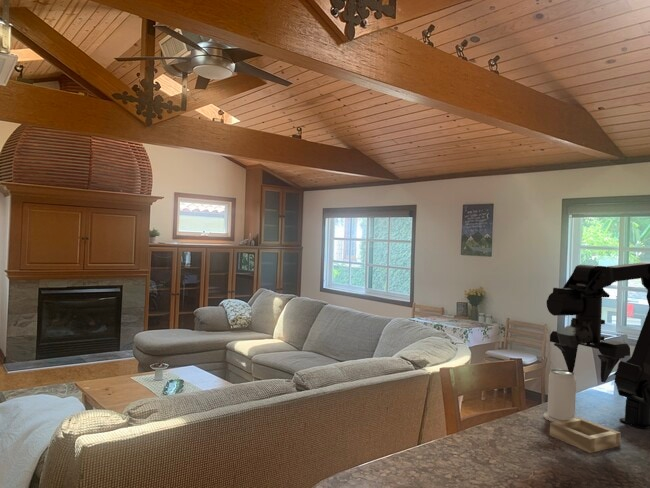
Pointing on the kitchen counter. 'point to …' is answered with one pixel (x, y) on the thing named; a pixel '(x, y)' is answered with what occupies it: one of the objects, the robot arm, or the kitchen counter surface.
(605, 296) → the robot arm
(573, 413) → the can
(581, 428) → the socket block
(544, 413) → the coaster
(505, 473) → the kitchen counter surface
